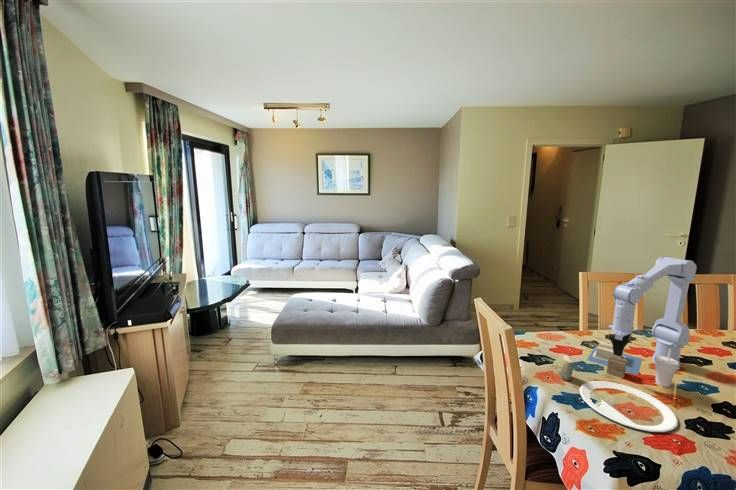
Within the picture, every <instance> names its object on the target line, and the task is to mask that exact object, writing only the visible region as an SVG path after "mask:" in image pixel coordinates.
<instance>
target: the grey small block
mask: <svg viewBox="0 0 736 490" xmlns="http://www.w3.org/2000/svg"><path fill="white" fill-rule="evenodd" d="M574 367H575V362H574V361H573V359H572V358H571V356H570V355H568V354H564V355H562V357H561V359H560V361H559V364H558V367H557V373H558V378H560V379H561V380H563V381H565V382H570V380H571V378H572V375H573V372H574Z"/></svg>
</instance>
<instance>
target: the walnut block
mask: <svg viewBox="0 0 736 490" xmlns="http://www.w3.org/2000/svg"><path fill="white" fill-rule="evenodd" d="M626 364H627V360H625V359H622V358H618V357H615V356H610V358H609V360H608V366H606V367H607V369H606V374H608V375H612V376H615V377H618V378H621V379H624V378H625V375H626V372H625V371H626Z"/></svg>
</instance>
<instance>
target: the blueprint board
mask: <svg viewBox="0 0 736 490" xmlns="http://www.w3.org/2000/svg"><path fill="white" fill-rule="evenodd" d="M597 346H598V345H594V347H593V349H592V350H591V352H590V354H589V355H588V357H587V359H586V361H589V362H593V363H596V364H599V365H602V366H606V367H608V360H605V359H602V358H598V357H596V349H597ZM622 359H625V360H627V364H626V371H625V373H628V374H631V375H635V376H638V375H639V371H640V367H641V364H642V361H643V358H641V357H637V356H634V355H629V354H626V353H623V357H622Z"/></svg>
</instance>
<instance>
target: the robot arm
mask: <svg viewBox="0 0 736 490" xmlns="http://www.w3.org/2000/svg"><path fill="white" fill-rule="evenodd" d="M696 272H697V264H696V263H695V262H694V261H693V260H691V259H690V260H687V259H681V258H677V257H668V256H664V255H662V256H660V257H659V258H657V259H656V260H655V264H654V266H653V267H652V268H651V269H650V270H649V271H647V272H646V273H645V274H637V276H635V277H634V278H633V279H631V280H629V281H628V282H626V283H625V284H619V285H617V286H615V287H614V289H613V291H612V297H613V303H614V304H615V306H614V310H613V311H614V313H613V319H612V321H613V322H612V325H611V324H609V325H608V329H611V330H612V332H613V333H614V334H615V335H613V334H610V335H609V340H610V342H611V344H612V345H613V353H614V355H617V356H621V355H622V353H623V354H624V350H625V348H626V346H627V345H628V344H629V343H630V340H629V339H630V337H631V336H632V335H633V333H634V331H633V325H634V319H635V312H636V305H637V304H638V303H639V302H640V301H641V299H642V297H643V296H644V294H645V293H646V292H648V291H649V290H651V289H652V288H653V287H654V286H655V285H654V283H655V282H656V281H659V280H660V279H663V278H664V277H667V278H668V279H669V280H670V285H669V290H668V295H667V299H666V303H665V310H664V314H663V315H664V316H663V317H662V318H658V319H656V320H655V322H654V325H653V326H652V329H651V333H652V336H653V337H654V340H655V341H656V343H655V350H654V353H653V356H652V360H651V362H652V363H654V364H655V361H654V359H655V356H664V357H668V353H669V349H671V354H670V358H671V359H674V360H676V361H677V362H678V363H679V366H678V367H677V368H676V371H680V364H681V363H680V356H681V349H682V347H683V348H684V347H685V346H687V345H688V344H689V341H690V339H691V337H690V327H689V326H687V325H686V324H685V323H684V322H683V315H684V310H685V307H686V306H685V305H686V301H687V297H688V290H689V286H690V282H694V280H695V276H696Z"/></svg>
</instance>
